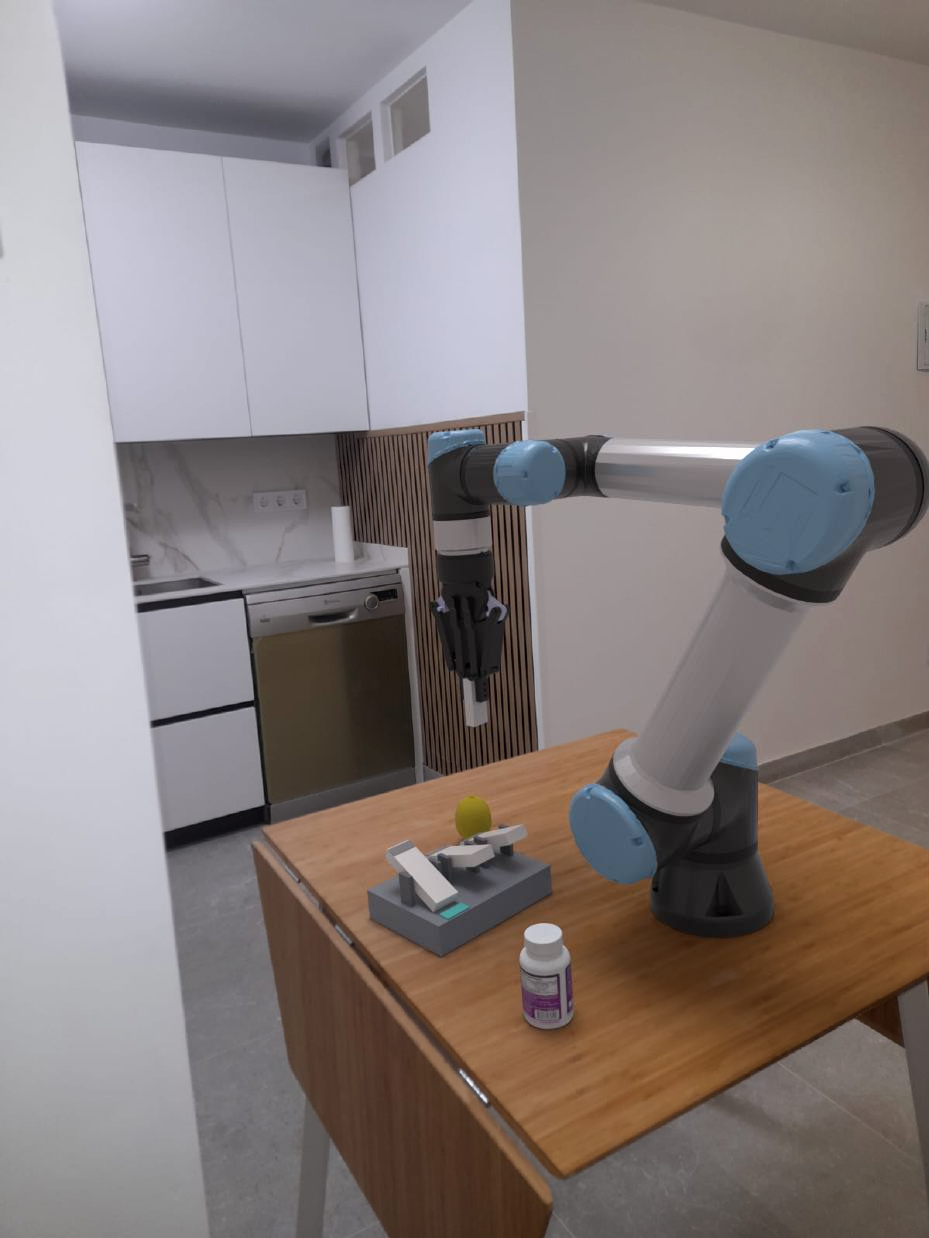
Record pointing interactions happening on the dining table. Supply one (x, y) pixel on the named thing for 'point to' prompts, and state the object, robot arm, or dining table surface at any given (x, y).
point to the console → (462, 898)
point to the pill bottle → (546, 977)
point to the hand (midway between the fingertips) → (477, 723)
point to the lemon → (472, 816)
